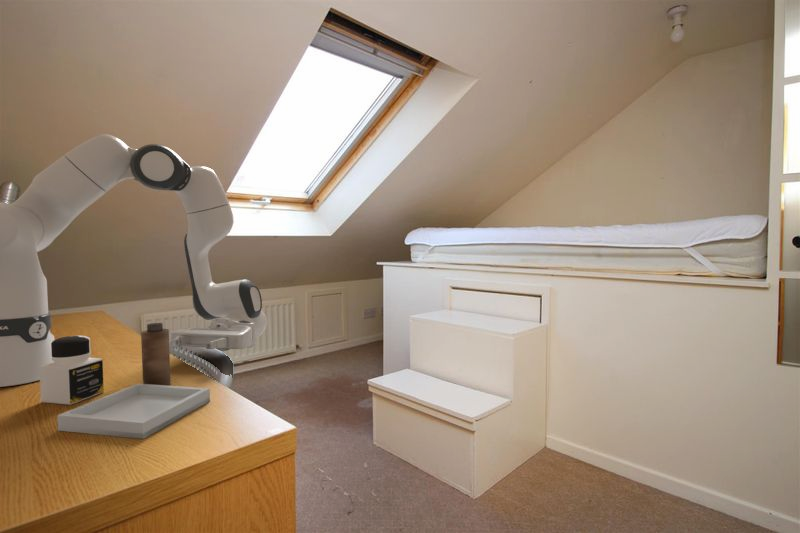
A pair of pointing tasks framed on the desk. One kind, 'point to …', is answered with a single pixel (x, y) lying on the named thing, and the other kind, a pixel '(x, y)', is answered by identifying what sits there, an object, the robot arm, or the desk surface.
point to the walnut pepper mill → (155, 355)
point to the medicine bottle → (71, 372)
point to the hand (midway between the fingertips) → (190, 345)
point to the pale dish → (134, 410)
